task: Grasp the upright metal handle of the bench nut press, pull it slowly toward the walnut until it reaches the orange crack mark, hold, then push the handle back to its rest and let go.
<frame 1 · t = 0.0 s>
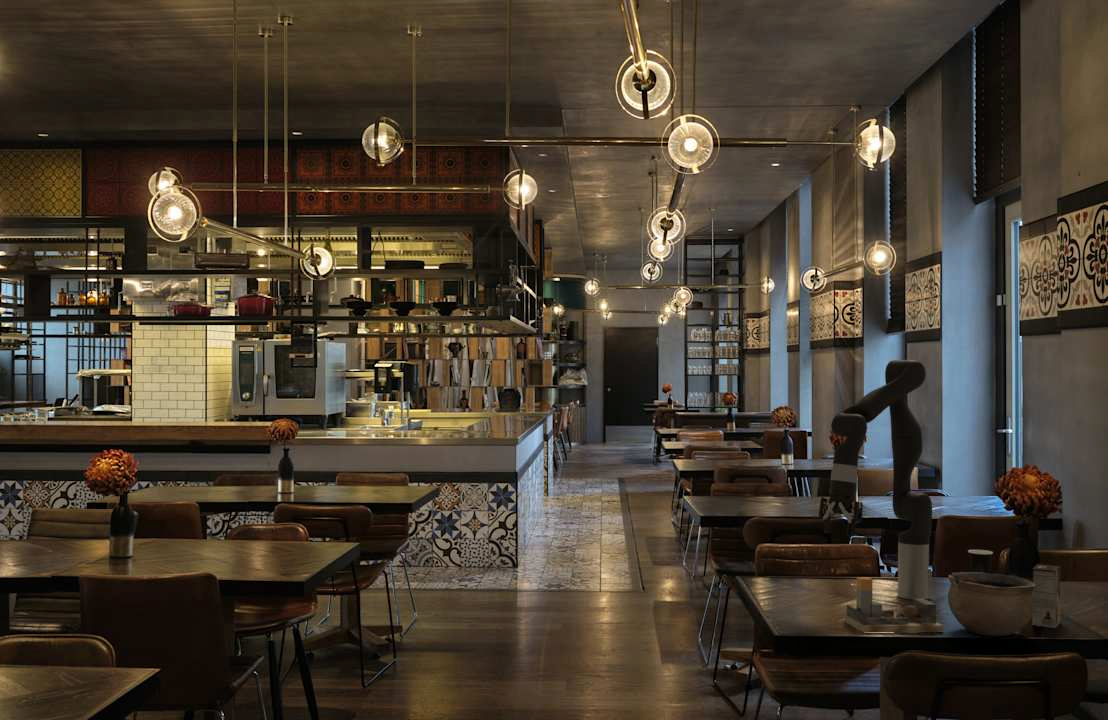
hand: (838, 534, 307), 22 cm above the table, tool pointing down, fingers open, 8 cm apart
dixie cup: (980, 584, 352), on the table
ceramic bowl: (990, 634, 280), on the table
coffee box: (1046, 624, 292), on the table
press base: (893, 627, 286), on the table
lever: (868, 598, 285), point 8 cm above the table, slide at 0.0 cm
walnut: (910, 619, 286), point 2 cm above the table, touching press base
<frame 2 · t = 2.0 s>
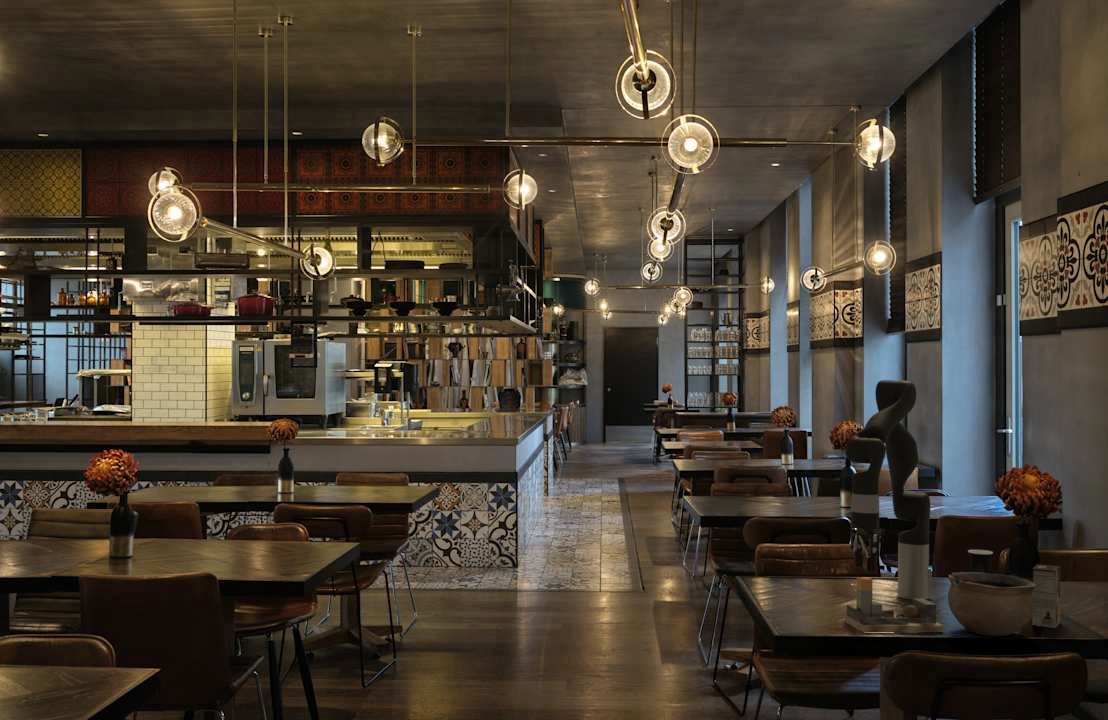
hand: (864, 569, 285), 16 cm above the table, tool pointing down, fingers open, 8 cm apart
nothing on the table moved.
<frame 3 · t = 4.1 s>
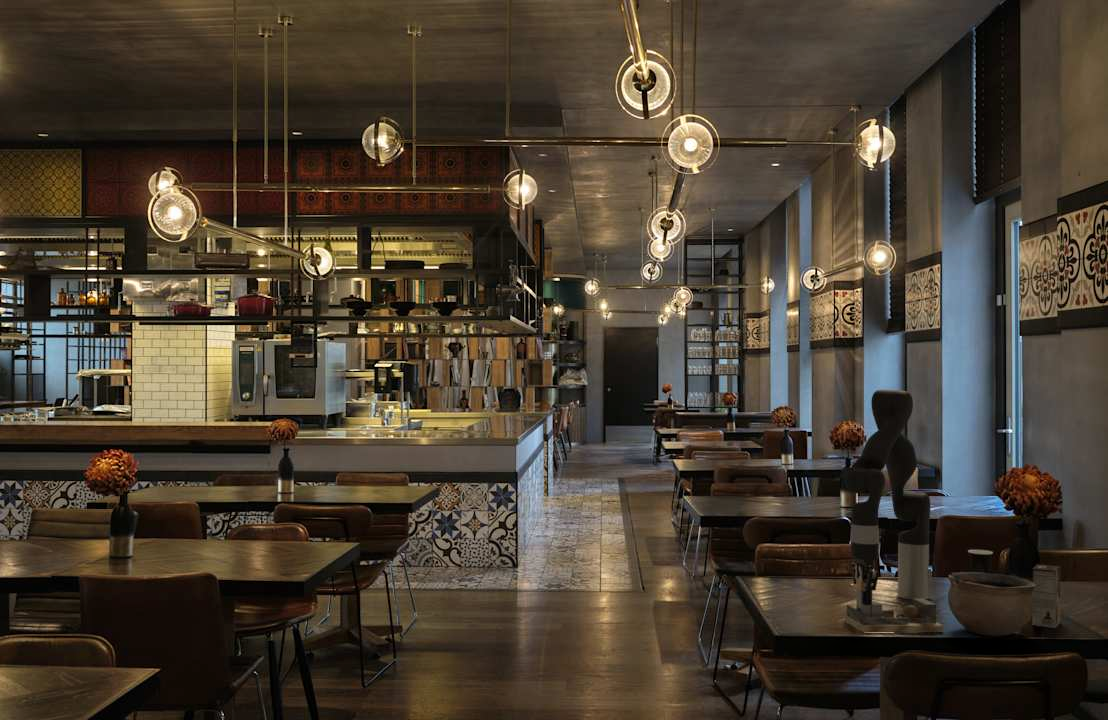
hand: (864, 603, 285), 7 cm above the table, tool pointing down, fingers closed on lever, 3 cm apart
lever: (868, 598, 285), point 8 cm above the table, slide at 0.0 cm, touching gripper
everything else where it was.
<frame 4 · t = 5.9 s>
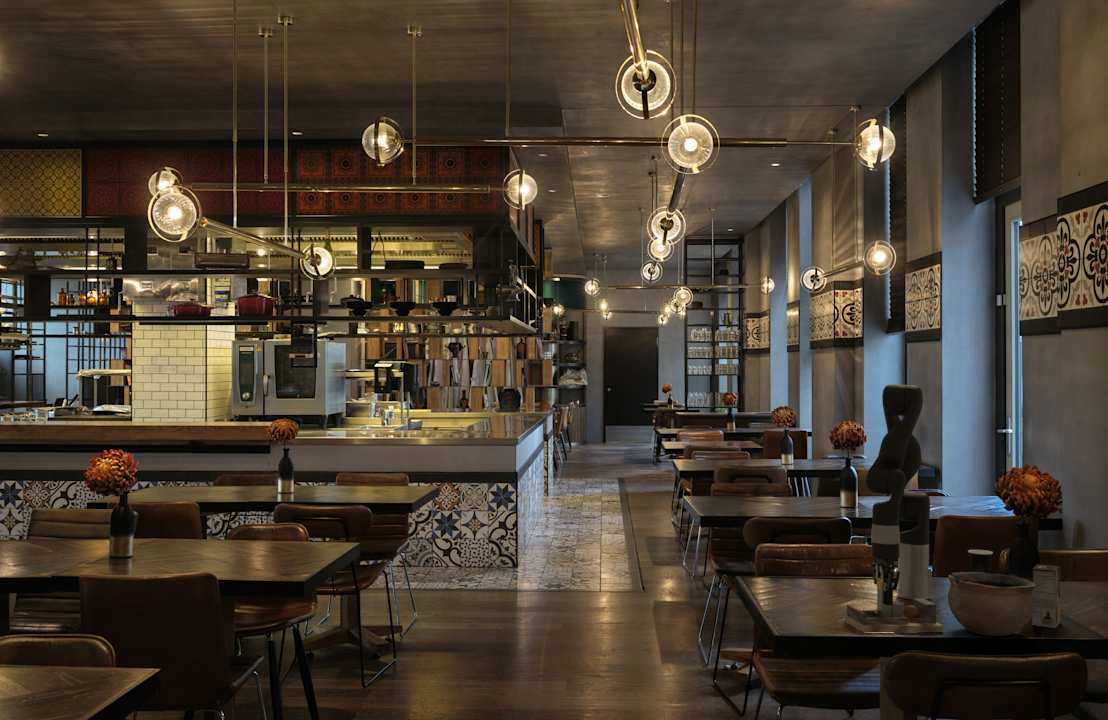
hand: (885, 603, 286), 7 cm above the table, tool pointing down, fingers closed on lever, 3 cm apart
lever: (889, 598, 286), point 8 cm above the table, slide at 6.0 cm, touching gripper
everything else where it was.
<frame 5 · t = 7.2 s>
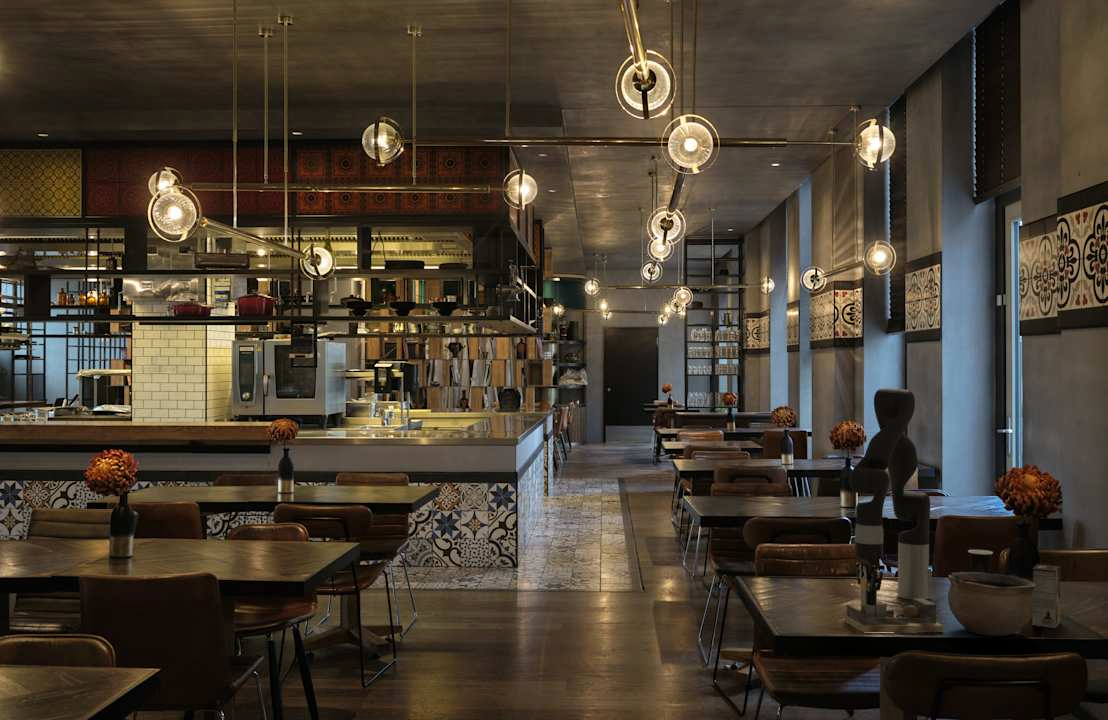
hand: (868, 603, 285), 7 cm above the table, tool pointing down, fingers closed on lever, 3 cm apart
lever: (873, 598, 285), point 8 cm above the table, slide at 1.2 cm, touching gripper
everything else where it was.
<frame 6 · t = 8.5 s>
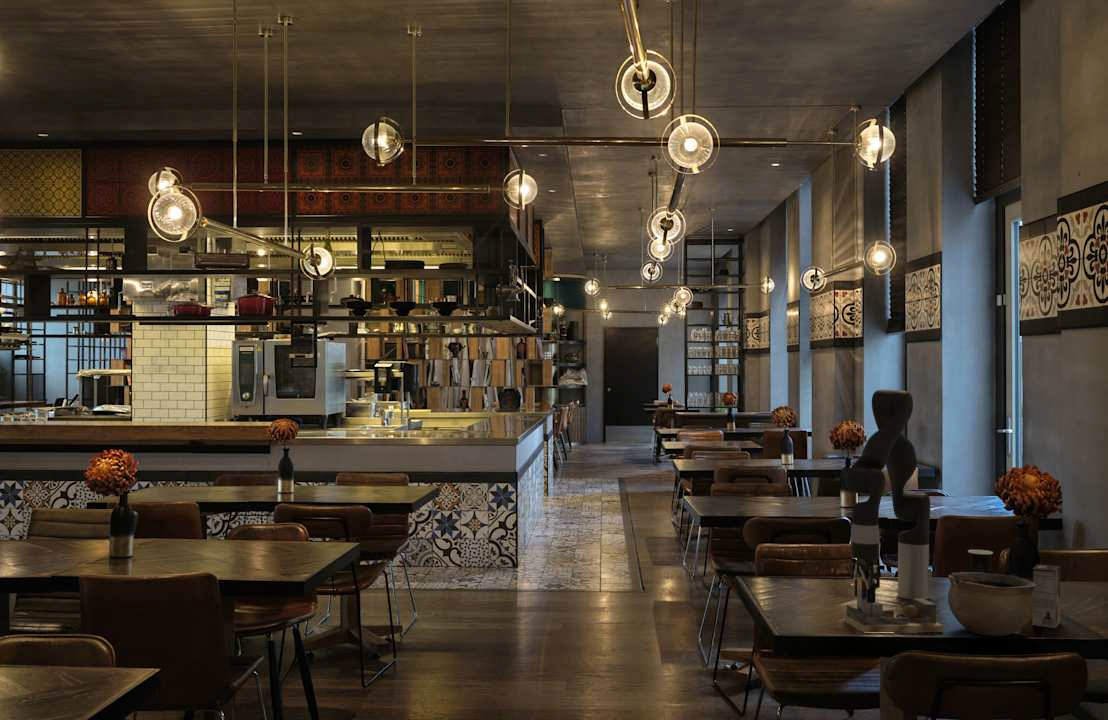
hand: (864, 599, 285), 8 cm above the table, tool pointing down, fingers open, 8 cm apart
lever: (869, 598, 285), point 8 cm above the table, slide at 0.2 cm
everything else where it was.
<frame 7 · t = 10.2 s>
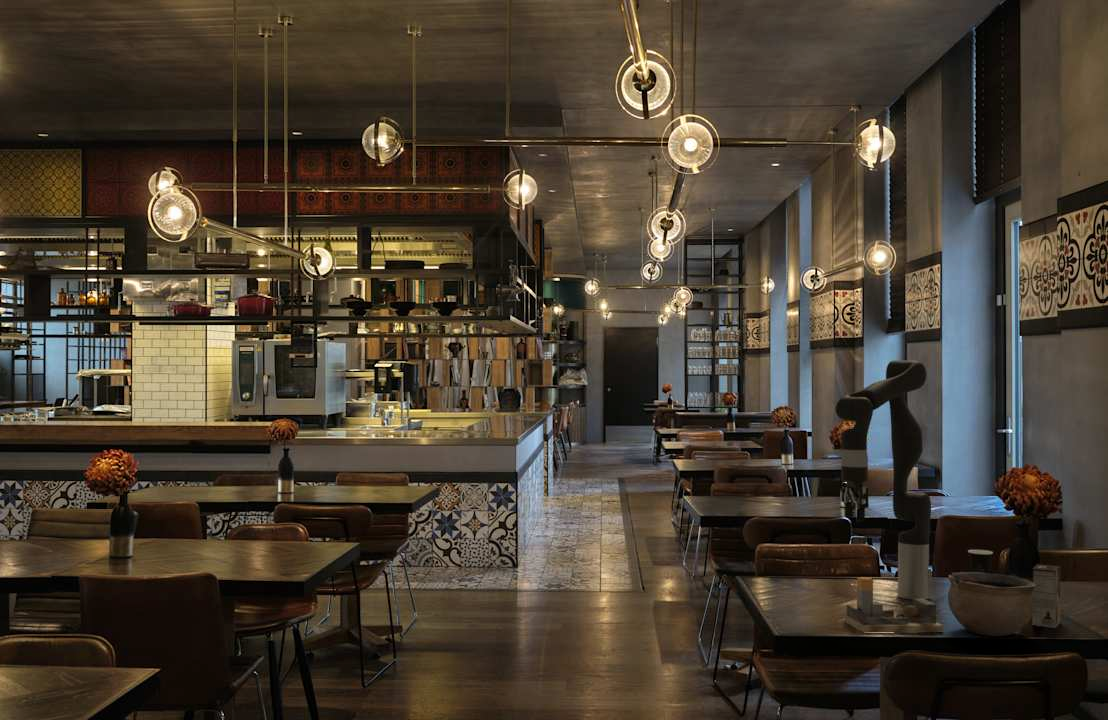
hand: (854, 519, 304), 27 cm above the table, tool pointing down, fingers open, 8 cm apart
nothing on the table moved.
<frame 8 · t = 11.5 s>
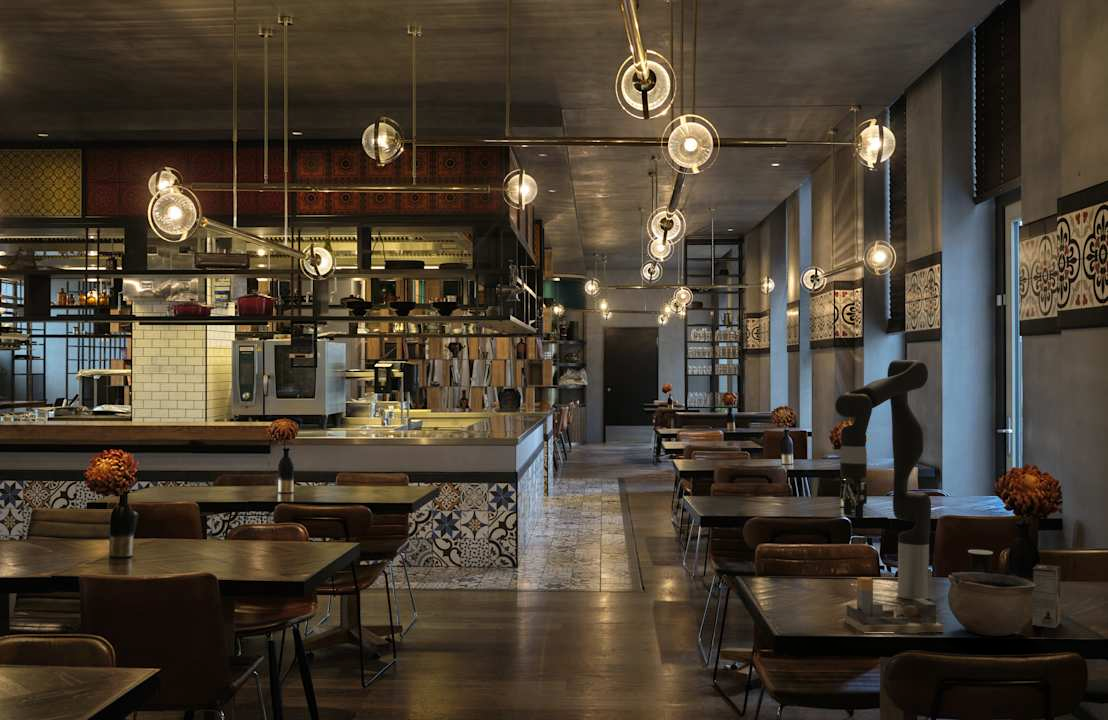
hand: (853, 516, 305), 28 cm above the table, tool pointing down, fingers open, 8 cm apart
nothing on the table moved.
at the end: lever slide at 0.2 cm; walnut 0.0 cm from the target spot on the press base, point 1.9 cm above the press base's base; the gripper is holding nothing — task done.
